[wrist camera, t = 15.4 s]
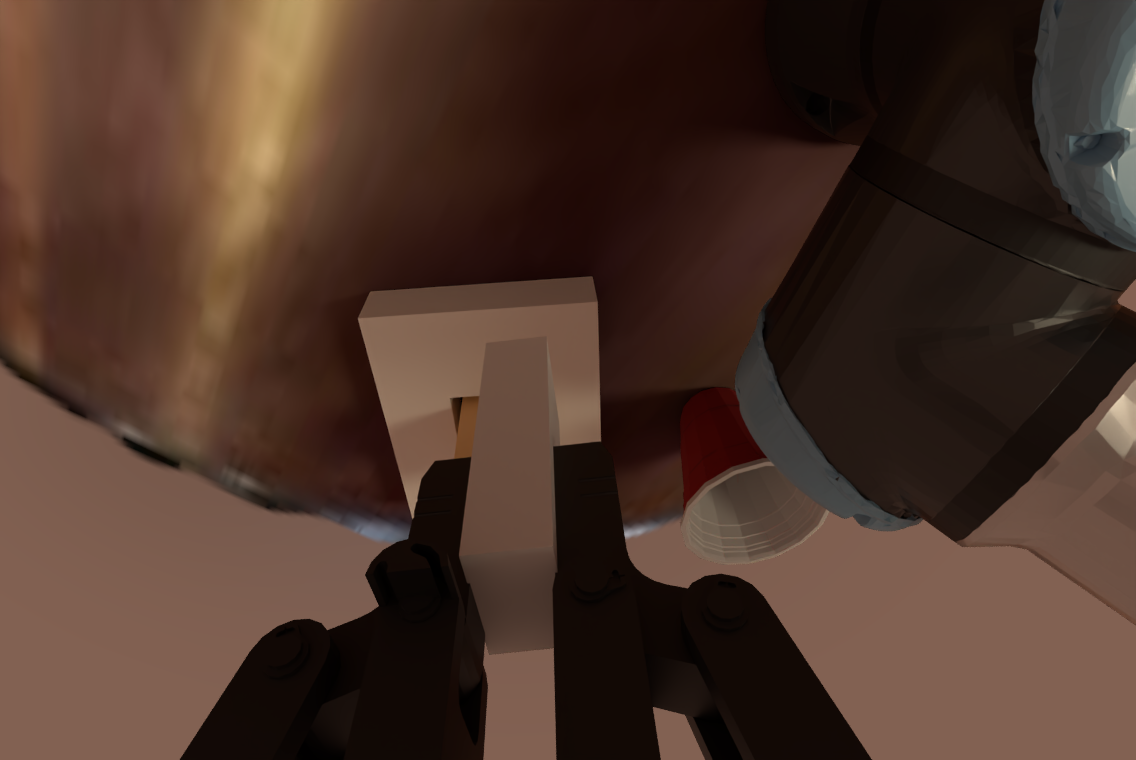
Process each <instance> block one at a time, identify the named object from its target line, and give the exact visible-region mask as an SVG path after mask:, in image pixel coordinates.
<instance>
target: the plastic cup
mask: <svg viewBox="0 0 1136 760" xmlns="http://www.w3.org/2000/svg"><path fill="white" fill-rule="evenodd" d="M680 433H681V443H680V448H681V460H682V472H683V484H684V492H683V497H684V505H683V507H684V513H683V517H682V520H681V532H682V535H683V539H684V542H685V546H686V547H687V548H689V549H690V550H691V551H692V552H693V553H694V554H696V555H697V556H698V557H699V558H701V559H704V560H708V561H711V562H715V563H719V564H723V565H728V564H751V563H755V562H758V561H762V560H766V559H769V558H773V557H777V556H779V555H781V554H783V553H785V552H787V551H788V550H790V549H792V548H794V547H796V546H798V545H800V544H802V543H803V542H804V541H805V540H807V539H808V538H809V537H810V536H811V535H812V534H813V533H814V532H815V531H816V530H818V528H820V527H821V526H822V525H823V522H824V521H825V519H826V517H827V515H828V513H829V512H830V511H828V510H827V509H825V508H823V507H822V506H820V505H819V504H817V503H816V502H814V501H813V500H812V499H810V498H809V497H808V496H806V495H805V494H804V493H803V492H801V491H800V490H799V489H798V488H797V487H795V486H794V485H793V484H792V483H791V482H790V481H789V480H788V479H787V478H786V477H785V476H784V475H783V474H782V473H781V472H780V471H779V470H778V469H777V468H776V467H775V466H774V465H773V464H772V463H771V461H770V460H769V459H768V458H767V457H766V455H765V454H764V453H763V452H762V450H761V449H760V447H759V446H758V445H757V443H756V442H755V440H754V439H753V437H752V435H751V434H750V432H749V430H748V428H747V426H746V424H745V422H744V420H743V418H742V415H741V413H740V404H739V401H738V398H737V395H736V391H734V390H732V389H729V388H720V387H714V388H711V389H707V390H703V391H701V392H699V393H698V394H696V395H695V396H693V397H691V398H690V400H689V401H688V402H687V403H686V405H685V406H684V407H683V410H682V414H681V420H680Z"/></svg>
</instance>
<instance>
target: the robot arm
mask: <svg viewBox="0 0 1136 760" xmlns="http://www.w3.org/2000/svg"><path fill="white" fill-rule="evenodd" d="M765 41H766V51H767V57H768V62H769V66H770V70H771V73H772V76H773V79H774V82H775V84H776V86H777V88H778V90H779V92H780V94H781V96H782V97H783V99H784V100H785V102H786V103H787V105H788V106H789V107H790V108H791V109H792V111H793V112H794V113H795V114H796V115H797V116H798V117H799V118H801V119H802V120H803V121H804V122H806V123H807V124H809V125H810V126H812V127H813V128H815V129H817V130H818V131H820V132H822V133H823V134H825V135H827V136H829V137H831V138H833V139H836V140H838V141H841V142H844V143H848V144H853V145H858V146H860V148H859V150H858V152H857V153H856V155H855V157H854V159H853V160H852V162H851V163H850V165H849V166H848V167H847V169H846V171H845V173H844V174H843V176H842V178H841V180H840V181H839V183H838V185H837V187H836V188H835V190H834V192H833V194H832V195H831V197H830V199H829V201H828V202H827V204H826V206H825V208H824V209H823V211H822V213H821V215H820V216H819V218H818V220H817V222H816V223H815V225H814V227H813V229H812V230H811V232H810V234H809V236H808V237H807V239H806V241H805V243H804V244H803V246H802V248H801V250H800V251H799V253H798V255H797V257H796V258H795V260H794V262H793V264H792V265H791V267H790V269H789V271H788V272H787V274H786V276H785V278H784V279H783V281H782V283H781V284H780V286H779V288H778V289H777V291H776V293H775V294H774V296H773V298H770V299H769V300H768V301H767V302H766V304H765V305H764V307H763V309H762V310H761V312H760V313H759V317H758V320H757V326H756V329H755V331H754V333H753V335H752V337H751V339H750V342H749V344H748V346H747V348H746V349H745V351H744V353H743V355H742V357H741V359H740V362H739V364H738V367H737V371H736V376H735V390H736V395H737V398H738V401H739V404H740V413H741V415H742V418H743V420H744V422H745V424H746V426H747V428H748V430H749V432H750V434H751V435H752V437H753V439H754V440H755V442H756V443H757V445H758V446H759V447H760V449H761V450H762V452H763V453H764V454H765V455H766V457H767V458H768V459H769V460H770V461H771V463H772V464H773V465H774V466H775V467H776V468H777V469H778V470H779V471H780V472H781V473H782V474H783V475H784V476H785V477H786V478H787V479H788V480H789V481H790V482H791V483H792V484H793V485H794V486H795V487H797V488H798V489H799V490H800V491H801V492H803V493H804V494H805V495H806V496H808V497H809V498H810V499H812V500H813V501H814V502H816V503H817V504H819V505H820V506H822V507H823V508H825V509H827V510H828V511H830V512H832V513H834V514H835V515H837V516H839V517H841V518H844V519H845V518H849V517H852V516H853V517H854V518H855V519H856V521H857V522H858V523H859V524H860V525H861V526H863V527H866V528H869V529H873V530H878V531H896V530H900V529H904V528H906V527H909V526H913V525H917V524H919V523H920V522H921V521H922V520H923V519H924V520H925V521H927V522H928V523H929V524H931V525H932V526H934V527H935V528H936V529H938V530H939V531H940V532H942V533H943V534H945V535H946V536H947V537H949V538H950V539H951V540H953V541H954V542H956V543H957V544H958V545H960V546H962V547H993V546H1012V547H1017V548H1022V549H1027V550H1029V551H1030V552H1031V553H1033V554H1034V555H1035V556H1037V557H1038V558H1040V559H1041V560H1043V561H1044V562H1045V563H1047V564H1048V565H1050V566H1051V567H1053V568H1054V569H1055V570H1057V571H1058V572H1060V573H1061V574H1063V575H1064V576H1065V577H1067V578H1068V579H1070V580H1071V581H1073V582H1074V583H1076V584H1077V585H1078V586H1080V587H1082V588H1083V589H1084V590H1086V591H1087V592H1089V593H1090V594H1092V595H1093V596H1094V597H1096V598H1097V599H1099V600H1100V601H1101V602H1103V603H1104V604H1106V605H1107V606H1108V607H1110V608H1111V609H1113V610H1114V611H1116V612H1117V613H1119V614H1120V615H1121V616H1123V617H1124V618H1126V619H1127V620H1129V621H1130V622H1131V623H1133V624H1134V625H1136V312H1134V311H1132V310H1130V309H1128V308H1126V307H1124V306H1122V305H1120V304H1119V303H1118V301H1117V300H1118V299H1119V298H1120V296H1121V295H1122V294H1123V293H1124V292H1125V290H1127V288H1128V287H1129V286H1130V285H1131V284H1132V283H1133V281H1134V280H1135V279H1136V0H768V3H767V9H766V20H765ZM365 576H366V578H367V580H368V582H369V584H370V587H371V589H372V591H373V594H374V595H375V598H376V600H377V602H378V605H379V606H378V607H377V608H376V609H374V610H373V611H372V612H370V613H368V614H366V615H364V616H362V617H360V618H358V619H355V620H353V621H350V622H347V623H345V624H342V625H340V626H337V627H335V628H332V629H330V630H326V628H325V627H324V626H323V625H322V623H319V622H317V621H313V620H311V619H301V620H293V621H290V622H287V623H285V624H282V625H280V626H277V627H276V628H275V629H273V630H272V631H270V632H269V633H268V634H266V635H265V636H263V637H262V638H261V640H260V641H259V642H258V643H257V644H256V645H255V646H254V647H253V649H252V650H251V651H250V652H249V654H248V656H247V657H246V659H245V660H244V662H243V663H242V665H241V666H240V668H239V669H238V671H237V673H236V674H235V676H234V677H233V679H232V680H231V682H230V683H229V685H228V686H227V688H226V689H225V691H224V693H223V694H222V695H221V697H220V699H219V700H218V702H217V703H216V705H215V706H214V708H213V709H212V711H211V712H210V714H209V716H208V717H207V719H206V720H205V722H204V723H203V725H202V726H201V728H200V729H199V731H198V732H197V734H196V736H195V737H194V738H193V740H192V742H191V743H190V745H189V746H188V748H187V749H186V751H185V752H184V754H183V755H182V757H181V758H180V760H483V756H484V740H485V723H486V708H487V692H488V684H487V677H486V672H485V669H484V666H483V659H484V645H485V643H486V646H487V649H488V652H489V654H490V655H491V654H501V653H511V652H520V651H530V650H540V649H550V648H554V675H555V713H556V714H555V717H556V755H557V756H556V757H557V758H556V759H557V760H661V758H660V752H659V745H658V739H657V732H656V726H655V719H654V713H653V707H656V708H660V709H664V710H668V711H672V712H676V713H680V714H684V715H685V716H686V718H687V720H688V722H689V725H690V727H691V729H692V731H693V734H694V736H695V738H696V740H697V743H698V745H699V747H700V749H701V751H702V754H703V756H704V758H705V760H872V759H871V758H870V756H869V755H868V753H867V752H866V750H865V749H864V747H863V746H862V744H861V743H860V741H859V740H858V738H857V737H856V735H855V734H854V732H853V731H852V729H851V727H850V726H849V724H848V723H847V721H846V720H845V719H844V717H843V715H842V714H841V712H840V711H839V709H838V708H837V706H836V705H835V703H834V702H833V700H832V699H831V698H830V696H829V694H828V693H827V691H826V690H825V689H824V687H823V685H822V684H821V682H820V681H819V679H818V678H817V676H816V675H815V673H814V672H813V670H812V669H811V667H810V666H809V664H808V663H807V661H806V660H805V658H804V657H803V655H802V653H801V652H800V650H799V649H798V648H797V646H796V644H795V643H794V641H793V640H792V638H791V637H790V635H789V634H788V633H787V631H786V629H785V628H784V626H783V625H782V623H781V622H780V620H779V619H778V617H777V616H776V614H775V613H774V611H773V610H772V608H771V607H770V605H769V604H768V602H767V601H766V599H765V598H764V596H763V595H762V594H761V593H760V592H759V591H758V590H757V589H756V588H755V587H754V586H753V585H752V584H750V583H748V582H746V581H744V580H743V579H741V578H739V577H735V576H730V575H724V574H716V575H709V576H704V577H702V578H701V579H699V580H697V581H695V582H693V583H692V584H691V585H690V587H689V588H688V589H687V588H682V587H677V586H671V585H666V584H663V583H660V582H656V581H654V580H651V579H650V578H648V577H646V576H644V575H643V574H642V573H641V572H640V571H639V570H637V569H636V568H635V566H634V565H633V563H632V562H631V561H630V559H629V556H628V552H627V549H626V542H625V536H624V529H623V523H622V516H621V510H620V503H619V497H618V490H617V484H616V478H615V471H614V465H613V458H612V456H611V454H610V453H609V452H608V451H607V449H606V448H605V447H604V446H603V445H602V443H601V442H600V441H598V442H589V443H580V444H571V445H562V446H560V429H559V418H558V411H557V405H556V398H555V391H554V384H553V377H552V370H551V363H550V356H549V349H548V342H547V336H543V337H535V338H526V339H517V340H508V341H499V342H490V343H486V347H485V355H484V363H483V371H482V379H481V386H480V394H479V402H478V410H477V418H476V426H475V433H474V441H473V449H472V457H466V458H456V459H447V460H438V461H434V462H433V464H432V465H431V467H430V468H429V469H428V471H427V472H426V473H425V475H424V476H423V477H422V479H421V483H420V487H419V492H418V496H417V502H416V506H415V510H414V518H413V519H412V524H411V528H410V533H409V538H408V539H407V540H403V541H399V542H396V543H395V544H393V545H391V546H389V547H388V548H386V549H384V550H383V551H382V552H381V553H380V554H379V555H378V556H377V557H376V558H375V559H374V560H373V561H372V562H371V564H370V566H369V568H368V570H367V572H366V574H365Z"/></svg>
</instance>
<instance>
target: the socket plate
mask: <svg viewBox="0 0 1136 760" xmlns="http://www.w3.org/2000/svg"><path fill="white" fill-rule="evenodd" d="M358 321H359V325H360V328H361V332H362V336H363V339H364V343H365V347H366V350H367V354H368V358H369V361H370V365H371V369H372V372H373V376H374V380H375V383H376V387H377V391H378V394H379V398H380V402H381V405H382V409H383V413H384V416H385V420H386V424H387V427H388V431H389V435H390V438H391V442H392V446H393V449H394V453H395V457H396V460H397V464H398V468H399V471H400V475H401V479H402V482H403V486H404V490H405V493H406V497H407V500H408V504H409V508H410V511H411V515H412V519H413V518H414V510H415V506H416V502H417V496H418V492H419V487H420V483H421V479H422V477H423V476H424V475H425V473H426V472H427V471H428V469H429V468H430V467H431V465H432V464H433V462H434V461H438V460H447V459H454V455H455V448H456V441H457V434H458V427H459V420H460V413H461V406H462V405H461V400H460V397H470V396H479V394H480V386H481V379H482V371H483V363H484V355H485V347H486V343H490V342H499V341H508V340H517V339H526V338H535V337H543V336H547V342H548V349H549V356H550V363H551V370H552V377H553V384H554V391H555V398H556V405H557V411H558V418H559V429H560V446H562V445H571V444H580V443H589V442H598V441H600V442H601V420H600V377H599V335H598V301H597V296H596V291H595V286H594V281H593V276H590V277H575V278H561V279H546V280H531V281H517V282H502V283H487V284H473V285H458V286H443V287H429V288H414V289H399V290H385V291H370V293H369V295H368V297H367V300H366V302H365V304H364V306H363V308H362V310H361V312H360V315H359V317H358Z"/></svg>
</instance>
